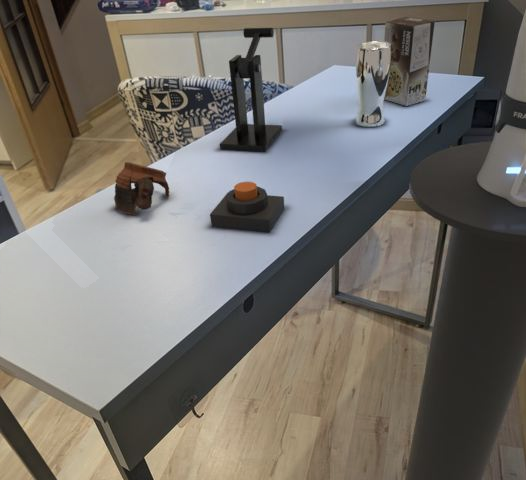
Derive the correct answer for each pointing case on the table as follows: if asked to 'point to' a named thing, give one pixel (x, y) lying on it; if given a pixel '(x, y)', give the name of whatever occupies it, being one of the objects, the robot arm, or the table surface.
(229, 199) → the control block
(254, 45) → the lever handle
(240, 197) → the button
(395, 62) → the coffee box
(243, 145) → the black headphone stand
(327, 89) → the table surface
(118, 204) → the brown arched piece
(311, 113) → the table surface
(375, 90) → the beer glass
